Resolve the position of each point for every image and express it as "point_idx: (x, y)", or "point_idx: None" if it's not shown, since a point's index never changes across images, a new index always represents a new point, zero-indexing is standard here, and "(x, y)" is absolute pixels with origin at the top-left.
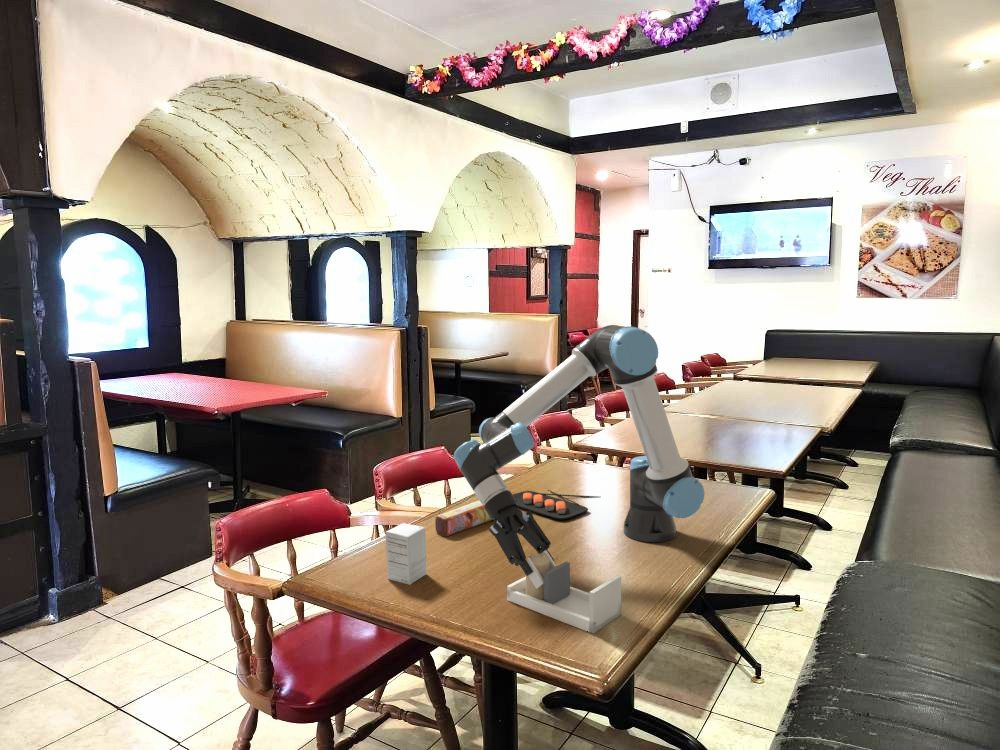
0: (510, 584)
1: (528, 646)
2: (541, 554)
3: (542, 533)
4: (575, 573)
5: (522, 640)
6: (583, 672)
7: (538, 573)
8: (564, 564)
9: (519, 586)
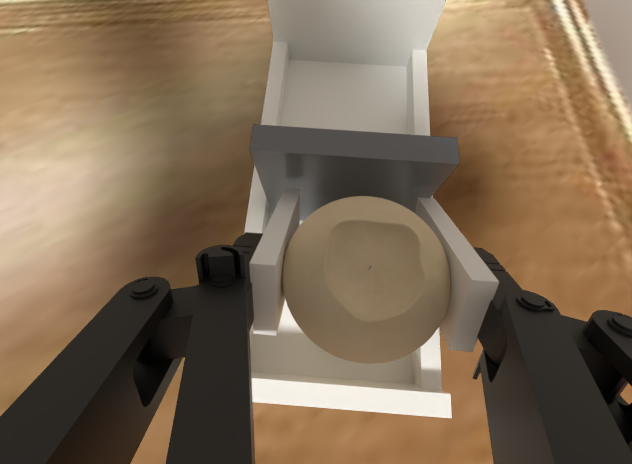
0: (426, 413)
1: (592, 157)
2: (329, 258)
3: (64, 384)
4: (55, 307)
5: (584, 187)
6: (566, 17)
7: (439, 219)
8: (289, 135)
9: (374, 385)
